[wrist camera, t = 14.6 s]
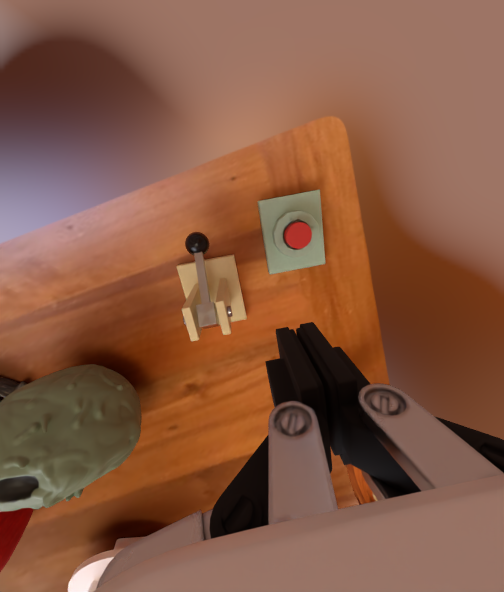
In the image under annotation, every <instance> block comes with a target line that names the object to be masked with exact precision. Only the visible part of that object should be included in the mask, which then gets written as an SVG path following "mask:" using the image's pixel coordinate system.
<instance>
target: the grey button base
mask: <svg viewBox="0 0 504 592" xmlns="http://www.w3.org/2000/svg"><path fill="white" fill-rule="evenodd" d="M258 209H259V215H260V221H261V228H262V234H263V240H264V247H265V253H266V259H267V266H268V272H269V273H270V274H275V273H280V272H285V271H290V270H296V269H301V268H306V267H311V266H316V265H321V264H325V252H324V239H323V226H322V212H321V199H320V190H314V191H309V192H304V193H298V194H293V195H288V196H282V197H277V198H272V199H266V200H261V201H258ZM293 222H303V223H306V224H307V225H308V226H309V227H310V229H311V231H312V238H311V241H310V242H309V244H308V245H307V246H306V247H304V248H301V249H296V248H293V247H291V246H289V245H288V244H287V243H286V241H285V239H284V232H285V229H286V228H287V226H288V225H289V224H291V223H293Z"/></svg>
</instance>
